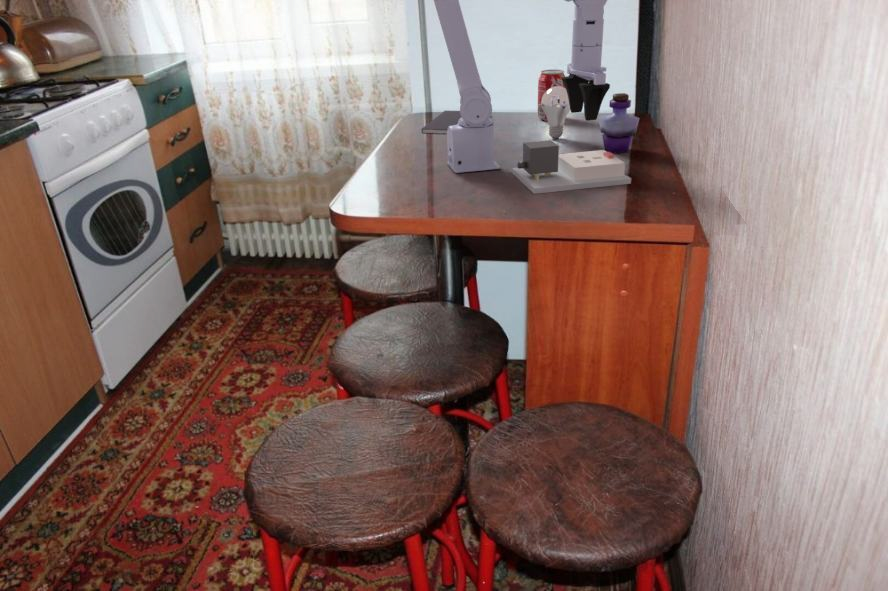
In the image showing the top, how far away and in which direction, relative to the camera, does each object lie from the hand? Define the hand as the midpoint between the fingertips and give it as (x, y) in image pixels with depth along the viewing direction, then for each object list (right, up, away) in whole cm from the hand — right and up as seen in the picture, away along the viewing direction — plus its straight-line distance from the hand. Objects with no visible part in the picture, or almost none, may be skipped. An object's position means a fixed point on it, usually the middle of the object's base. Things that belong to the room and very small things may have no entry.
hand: (583, 116), depth 144 cm
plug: (-10, -13, -6) cm, 17 cm away
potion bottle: (+10, -5, +12) cm, 16 cm away
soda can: (0, +9, +42) cm, 43 cm away
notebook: (-24, +8, +42) cm, 49 cm away
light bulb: (-2, 0, +23) cm, 23 cm away
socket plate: (0, -12, -4) cm, 13 cm away
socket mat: (-4, -13, -5) cm, 14 cm away
